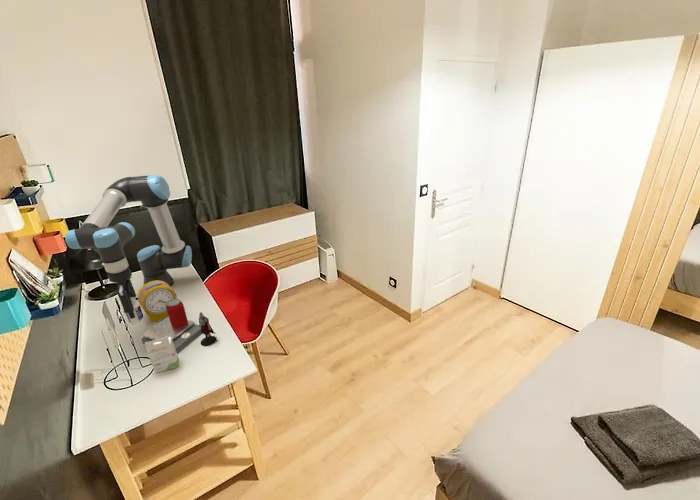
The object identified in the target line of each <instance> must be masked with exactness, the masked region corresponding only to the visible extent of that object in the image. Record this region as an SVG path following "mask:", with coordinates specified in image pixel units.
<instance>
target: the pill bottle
mask: <svg viewBox="0 0 700 500" xmlns="http://www.w3.org/2000/svg"><path fill="white" fill-rule="evenodd" d="M130 298H131V301H132V305H133V308H134V309H135V311H136V314H137V316H138V319H139V322H142V321H143V320H144V318H145V316H144V314H143V310H142V306H141V305H140V303H139V301H137V300H136V299H135V298H134V297H130ZM136 301H137V302H136ZM125 316H126V318H127V320H128V323H130V324H131V322H130V319H129V316H128V314H127V313H125Z"/></svg>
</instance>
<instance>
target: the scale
mask: <svg viewBox="0 0 700 500" xmlns="http://www.w3.org/2000/svg"><path fill="white" fill-rule="evenodd" d="M202 334H203V333H202V332H201V328H200V327H199V324H196V323H194V324H193V325H192V326H190V327H189V328H188V329H186V330H185V331H184V332H183V333H181V334H180V335H179V336H177V337H176V338H175V339H174V340H172V341H173V344H174V346H175V349H176V352H177V354H179V353H180V352H182V350H184V349H185V348H186V347H187V346H188V345H189V344H191V343H192V342H193V341H195V339H197V338H198V337H199V336H200V335H202ZM140 340H141V343H142V344H143V345H145V342H149V341H153V340H152V339H149V338H145V337H141V338H140Z"/></svg>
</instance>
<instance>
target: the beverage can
mask: <svg viewBox="0 0 700 500" xmlns="http://www.w3.org/2000/svg"><path fill="white" fill-rule="evenodd" d="M166 309H167V313H168V316H169V319H170V322H171V325H172V327H173V328H182V327H184V326H185V325H186V324H187V323H188V320H189V319H188V317H187V312H186V309H185V306H184V303H183V301H181V299H178V298H176V299H173V300H170V301H169V302H167V306H166Z"/></svg>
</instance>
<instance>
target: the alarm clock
mask: <svg viewBox="0 0 700 500" xmlns="http://www.w3.org/2000/svg"><path fill="white" fill-rule="evenodd" d="M143 285H144V284H143ZM137 297H138V300H137V302H138V303H139V304H140V307H141V309H143V312H145V314H146V317H148V319H149V321H150V322H151V324H154V323H157V322H161V321H162V320H164V319H165V318H167V317H168V313H167V309H166V306H167V302H169V301H170V300H173V299H177V294H176V292H175V290H174V289H173V288H172V286H171V287H170V286H169V285H168V284H167V283H165V282H164V281H159V280H156V281H150V282H148V283H146V284H145V285H144V286H141V287H140V289H139V290H138V294H137Z"/></svg>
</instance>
